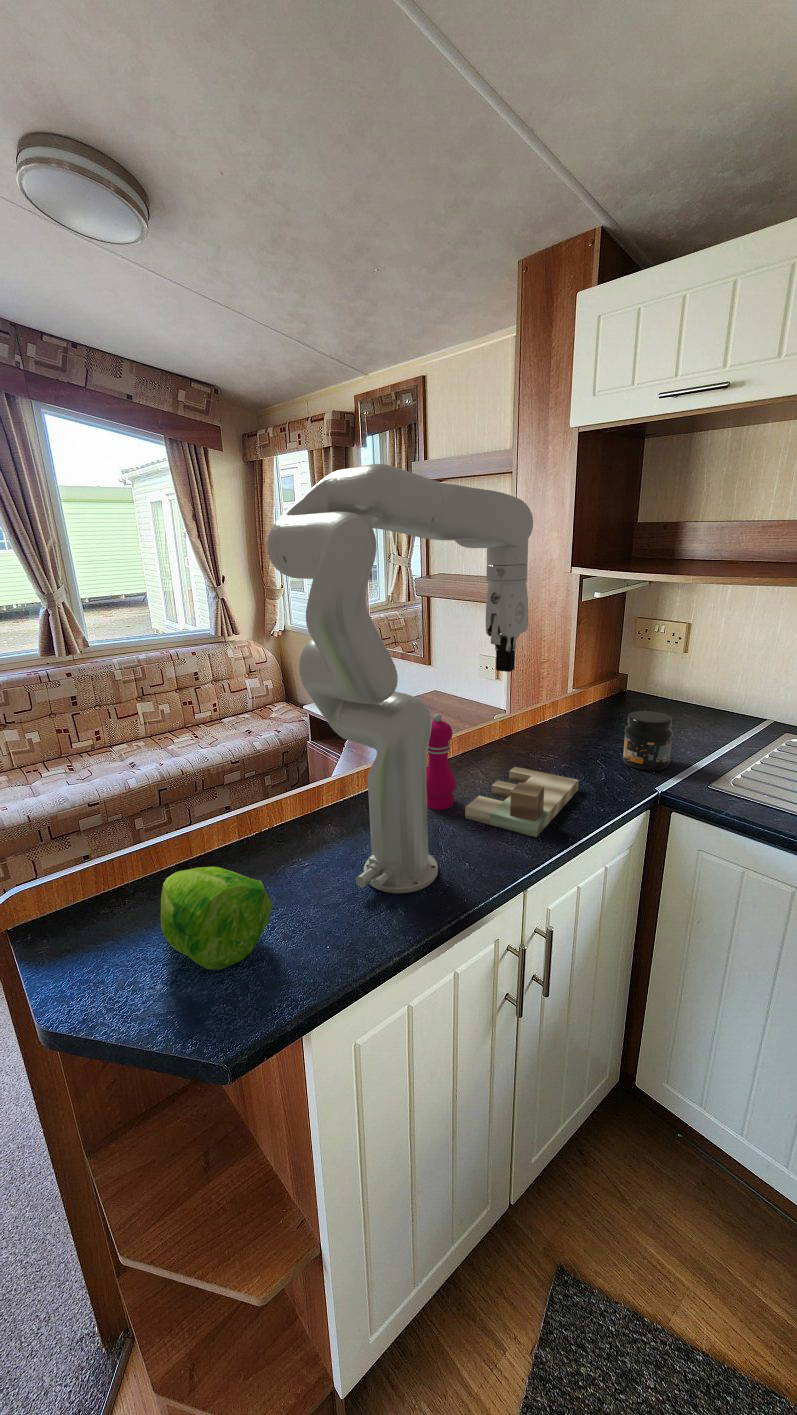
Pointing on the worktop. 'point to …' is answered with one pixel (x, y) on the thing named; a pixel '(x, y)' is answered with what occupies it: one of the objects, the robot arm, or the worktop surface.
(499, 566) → the robot arm
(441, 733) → the pepper mill
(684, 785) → the worktop surface
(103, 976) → the worktop surface
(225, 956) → the lettuce
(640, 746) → the supplement container
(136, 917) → the worktop surface
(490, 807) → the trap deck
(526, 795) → the walnut block
